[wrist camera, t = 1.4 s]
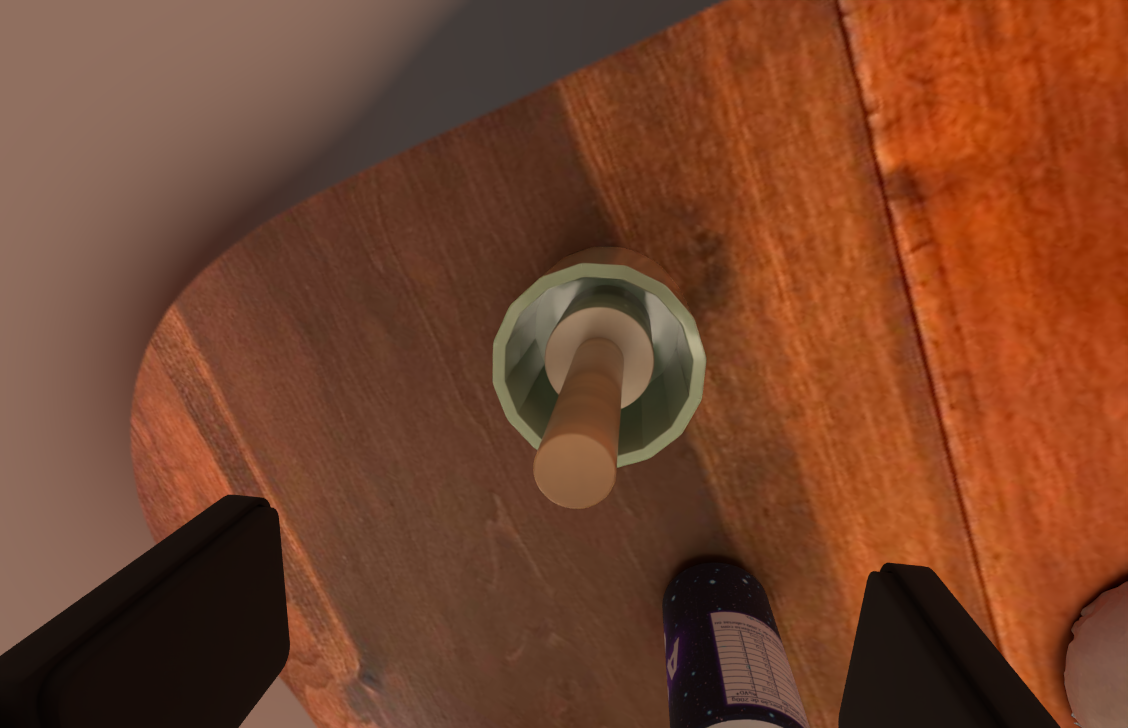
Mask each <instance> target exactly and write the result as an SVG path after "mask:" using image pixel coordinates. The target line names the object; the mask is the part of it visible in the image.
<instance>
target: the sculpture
mask: <svg viewBox="0 0 1128 728" xmlns="http://www.w3.org/2000/svg"><path fill="white" fill-rule="evenodd" d="M1081 615H1082V616H1083V617H1081V618H1079V621H1076V622H1075V623H1074V625H1073V627H1072V629H1071V631H1072V633H1073V634H1074V640H1073V641H1072V642H1071V643H1070V644H1069V646H1068V651H1067V655H1066V670H1065V672H1064V678H1065V681H1064V685H1065V688H1066V692H1067V697H1068V700H1069V703H1070V706H1071V709H1072V711H1073V713H1072V714H1071V716H1072V717H1074V718H1076V719H1077V721H1078V723H1075V724H1077V725H1078V726H1080V727H1082V728H1128V581H1127V582H1125V583H1123V584H1122V585H1120V586H1119V587H1116V588H1114V589H1111V590H1108V591H1106V592H1103V593H1102V594H1101V595H1100V596H1099V597H1098V598H1097V599H1095V600H1094V601H1093V602H1092V603H1091V604H1089V605H1088V606H1087V607H1085V608H1084V609H1083V610H1082V612H1081Z"/></svg>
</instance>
